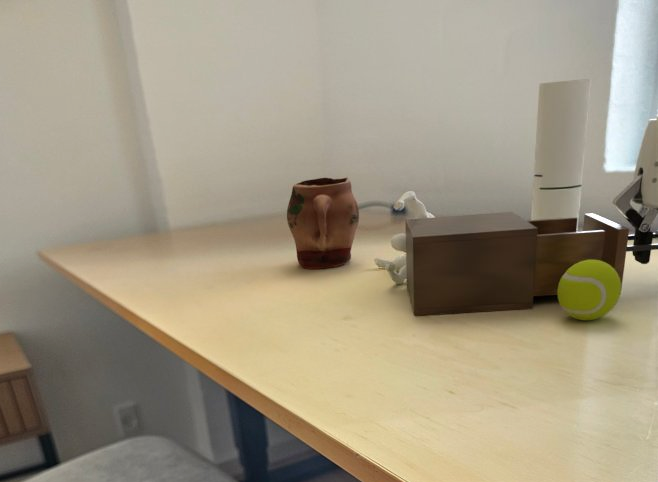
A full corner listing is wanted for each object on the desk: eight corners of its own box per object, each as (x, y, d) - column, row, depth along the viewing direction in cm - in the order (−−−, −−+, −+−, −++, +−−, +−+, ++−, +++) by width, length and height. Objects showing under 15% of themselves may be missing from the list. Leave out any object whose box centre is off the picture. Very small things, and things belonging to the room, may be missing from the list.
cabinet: (508, 281, 94) (512, 211, 90) (532, 308, 81) (538, 228, 77) (406, 288, 95) (405, 219, 91) (413, 316, 82) (412, 237, 78)
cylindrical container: (556, 251, 110) (570, 81, 99) (584, 257, 104) (602, 77, 93) (519, 256, 109) (529, 85, 97) (546, 263, 102) (559, 81, 91)
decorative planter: (369, 273, 106) (365, 181, 100) (295, 281, 106) (286, 188, 99) (353, 252, 124) (348, 172, 118) (289, 258, 123) (281, 178, 117)
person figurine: (380, 196, 107) (397, 185, 90) (456, 208, 108) (487, 199, 91) (368, 278, 111) (382, 282, 94) (441, 288, 112) (468, 294, 95)
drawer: (651, 267, 92) (660, 208, 88) (694, 290, 80) (706, 223, 76) (490, 277, 93) (492, 220, 90) (508, 301, 82) (512, 237, 78)
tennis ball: (551, 326, 74) (555, 266, 71) (559, 310, 80) (564, 253, 77) (614, 329, 72) (622, 267, 69) (619, 312, 77) (626, 254, 74)
